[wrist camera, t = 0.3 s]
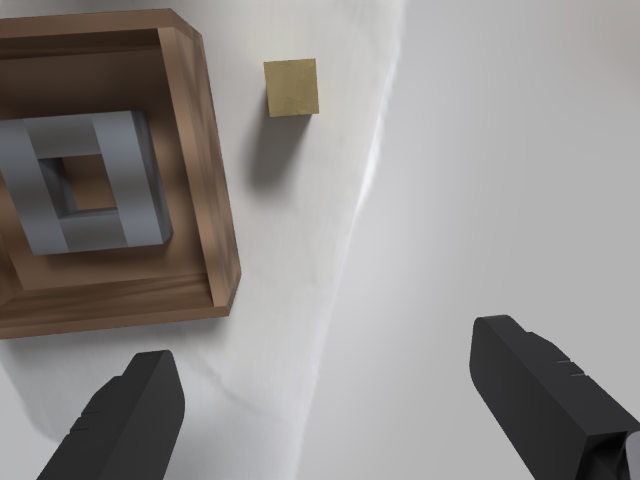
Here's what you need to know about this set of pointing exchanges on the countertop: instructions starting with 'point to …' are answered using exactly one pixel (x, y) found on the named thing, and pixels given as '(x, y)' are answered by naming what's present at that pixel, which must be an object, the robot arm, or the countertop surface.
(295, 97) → the tan wooden block
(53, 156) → the walled box
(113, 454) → the robot arm
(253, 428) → the countertop surface
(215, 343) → the countertop surface
